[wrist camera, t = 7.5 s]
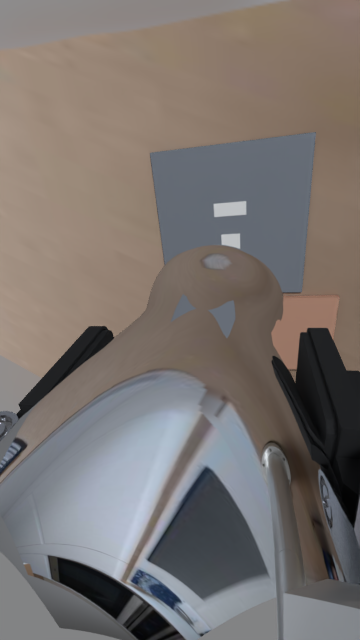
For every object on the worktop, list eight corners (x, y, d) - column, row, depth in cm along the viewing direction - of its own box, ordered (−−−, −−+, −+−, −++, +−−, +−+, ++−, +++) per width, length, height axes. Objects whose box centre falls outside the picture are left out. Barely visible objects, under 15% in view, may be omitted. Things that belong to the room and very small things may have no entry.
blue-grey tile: (315, 132, 25) (315, 132, 25) (301, 291, 31) (301, 292, 31) (150, 153, 28) (149, 153, 28) (169, 294, 34) (168, 294, 34)
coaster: (337, 295, 31) (339, 297, 30) (327, 367, 35) (328, 370, 35) (246, 296, 33) (246, 299, 32) (246, 364, 37) (246, 367, 36)
